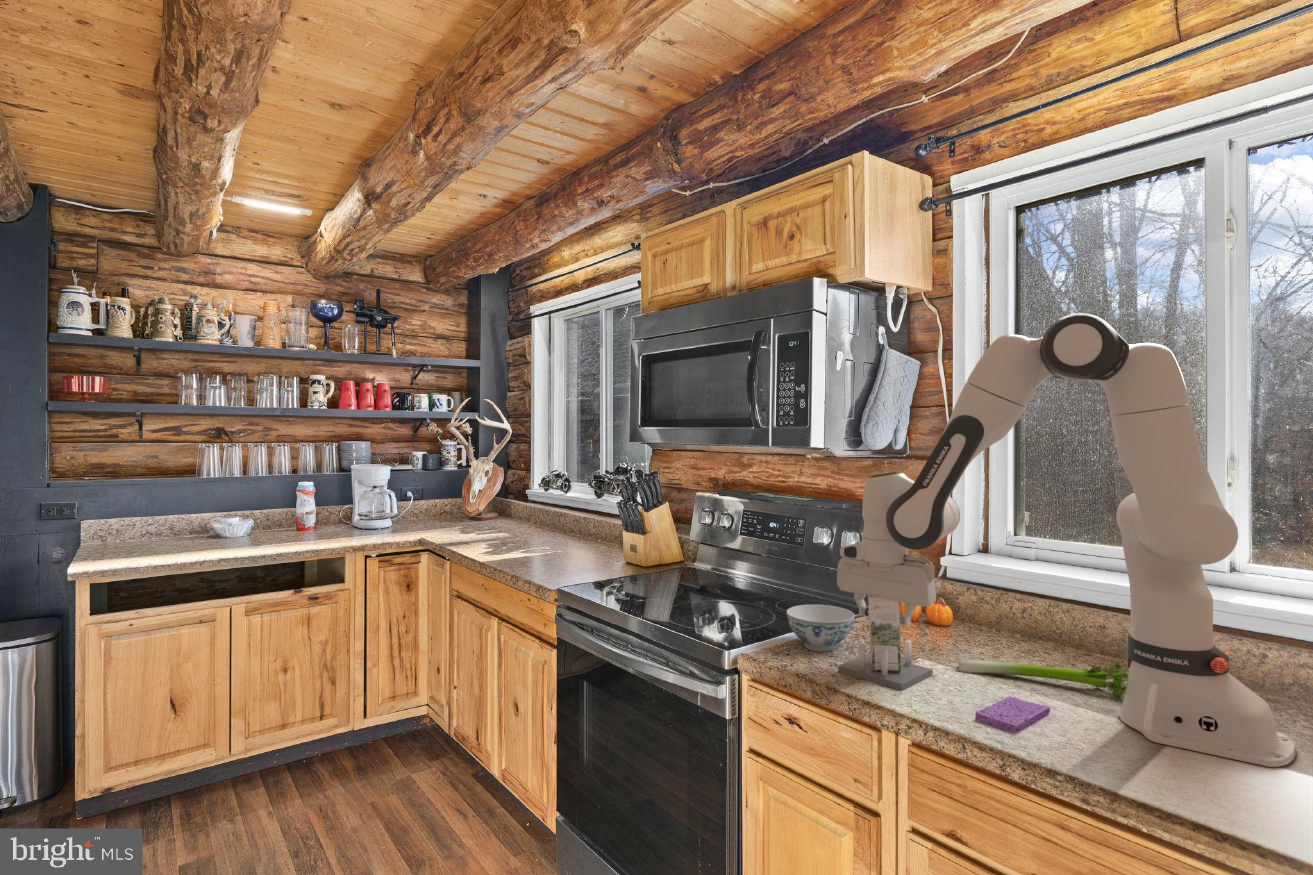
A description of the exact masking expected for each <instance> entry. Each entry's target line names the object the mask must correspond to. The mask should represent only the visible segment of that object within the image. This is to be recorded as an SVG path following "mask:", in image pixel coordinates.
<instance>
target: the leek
mask: <svg viewBox="0 0 1313 875" xmlns="http://www.w3.org/2000/svg"><path fill="white" fill-rule="evenodd" d="M957 667H958V669H957V670H958V671H961V672H960V673H967V672H971V673H970V674H989V675H990V674H992V675H993V674H994V675H1009V676H1010V675H1012V676H1024V677H1034V678H1045V679H1055V680H1060V681H1066V682H1073V683H1074V682H1075V683H1080V684H1086V685H1090V686H1094V687H1095V688H1096V689H1100V688H1103V689H1106V688H1107V690H1109V692H1112V693H1113V696H1114V697H1116V698H1119V699H1121V698H1122V695H1123V696H1125V691H1126V686H1127V680H1128V672H1129V668H1128V667H1122V666H1121V665H1120V664H1119V663H1116V664H1109V666H1108V667H1106V666H1104V668H1102V666H1101V665H1100V666H1095V665H1093V664H1092V665H1091V668H1089V669H1074V668H1072V669H1071V668H1062V667H1051V666H1042V665H1034V664H1033V665H1032V664H1022V663H1021V664H1020V663H1010V662H1009V663H1008V662H1001V661H1000V662H998V661H986V660H977V659H975V660H974V659H962V658H960V659H959V662H958V666H957ZM1106 680H1109V681H1106ZM1110 680H1112V681H1110Z"/></svg>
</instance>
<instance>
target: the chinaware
mask: <svg viewBox="0 0 1313 875" xmlns="http://www.w3.org/2000/svg"><path fill="white" fill-rule="evenodd" d="M786 617H787V620H788V624H789V626H790V629H791V630H792V632H793V633H794V634H795V636H796V637H797V639H799V640H800V641H801V642H803V643H804V646H805V648H807V649H808V650H810V651H816V652H830V651H833V650H835V649H836V645H838V644H840V643H841V642H842V641H843V640H845V639H846V637H847V636H848V635H849V633H850V632H851V629H852V627H853V625H854V620H855V613H854V612H852V610H850V609H846V608H844V607H841V606H835V605H827V604H799V605H794V606H792V607H789V608H788V609H786Z"/></svg>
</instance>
